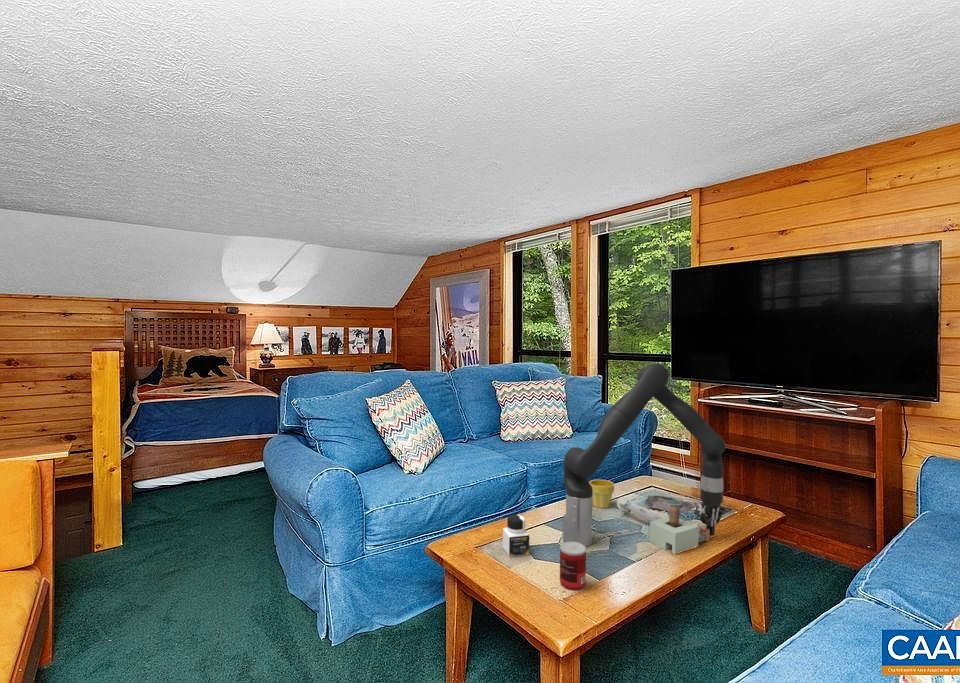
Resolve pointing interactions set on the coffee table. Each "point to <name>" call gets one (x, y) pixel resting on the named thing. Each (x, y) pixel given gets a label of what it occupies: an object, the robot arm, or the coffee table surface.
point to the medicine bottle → (515, 537)
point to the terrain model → (668, 504)
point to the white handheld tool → (636, 509)
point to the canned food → (572, 565)
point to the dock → (673, 535)
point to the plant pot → (602, 492)
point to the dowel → (674, 516)
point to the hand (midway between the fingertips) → (710, 534)
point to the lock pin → (703, 534)
